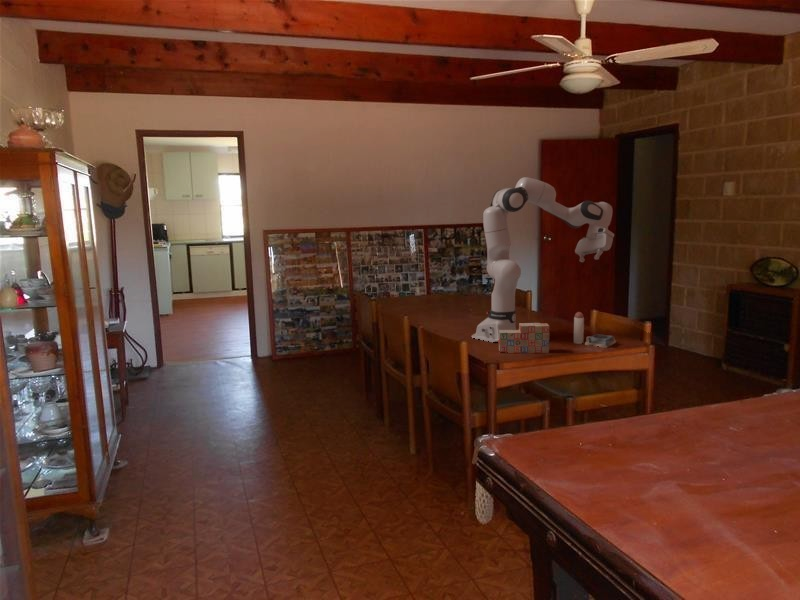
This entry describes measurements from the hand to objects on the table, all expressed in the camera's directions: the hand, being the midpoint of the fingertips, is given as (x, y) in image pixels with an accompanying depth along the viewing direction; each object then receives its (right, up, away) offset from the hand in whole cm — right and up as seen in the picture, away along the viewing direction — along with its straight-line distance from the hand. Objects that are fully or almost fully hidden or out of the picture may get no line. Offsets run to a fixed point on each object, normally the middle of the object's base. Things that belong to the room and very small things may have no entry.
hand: (588, 260), depth 280 cm
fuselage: (-6, -39, -5) cm, 39 cm away
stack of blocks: (-34, -42, -17) cm, 57 cm away
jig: (+3, -39, -7) cm, 40 cm away
